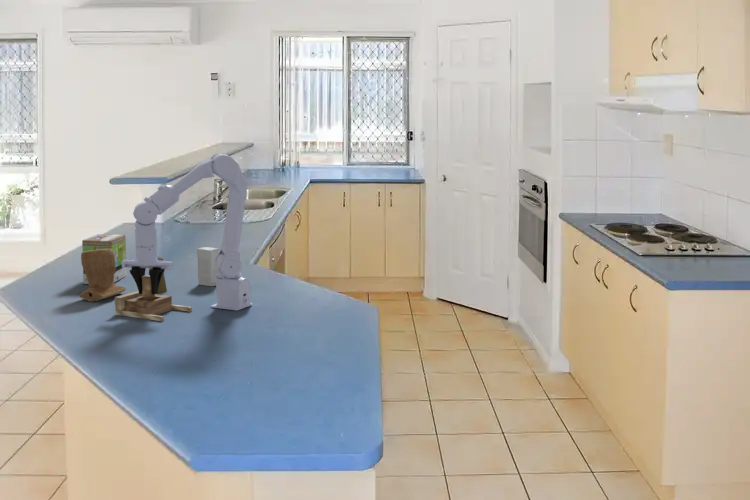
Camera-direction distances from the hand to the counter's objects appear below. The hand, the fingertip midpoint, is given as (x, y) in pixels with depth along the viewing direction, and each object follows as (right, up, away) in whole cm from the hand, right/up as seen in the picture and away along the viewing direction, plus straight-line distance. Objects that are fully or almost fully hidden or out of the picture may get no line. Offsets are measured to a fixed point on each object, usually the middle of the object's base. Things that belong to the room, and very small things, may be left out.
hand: (148, 293), depth 233 cm
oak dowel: (0, -2, 0) cm, 2 cm away
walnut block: (0, -5, +1) cm, 5 cm away
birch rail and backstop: (+2, -5, 0) cm, 6 cm away
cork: (-5, -1, +27) cm, 28 cm away
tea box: (-26, +2, +44) cm, 52 cm away
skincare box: (+10, +1, +38) cm, 39 cm away
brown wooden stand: (-20, -2, +19) cm, 28 cm away
